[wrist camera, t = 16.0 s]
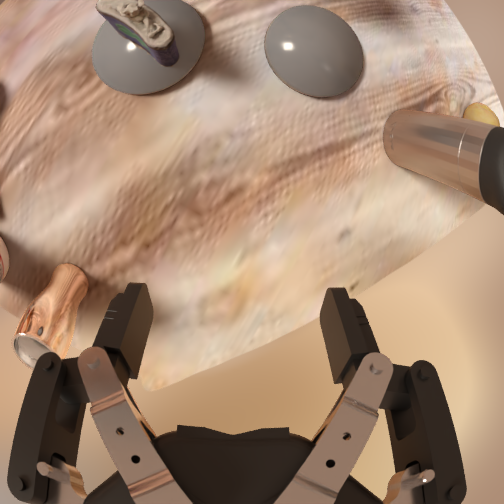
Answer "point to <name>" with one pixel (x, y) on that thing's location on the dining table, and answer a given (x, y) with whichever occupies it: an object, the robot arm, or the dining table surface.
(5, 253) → the fruit juice
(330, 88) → the gray domed disc
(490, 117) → the fruit
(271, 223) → the dining table surface
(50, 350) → the beer glass
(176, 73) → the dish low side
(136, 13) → the flask
